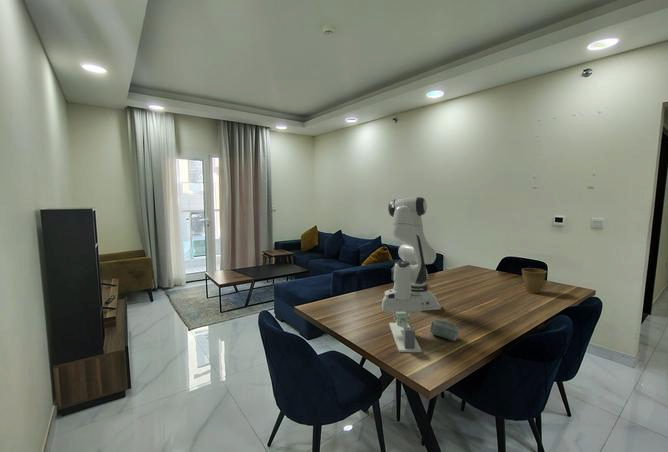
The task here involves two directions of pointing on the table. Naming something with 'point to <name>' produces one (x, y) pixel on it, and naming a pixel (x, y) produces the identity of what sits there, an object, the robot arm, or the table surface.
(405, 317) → the sleeve
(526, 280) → the plant pot
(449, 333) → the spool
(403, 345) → the stand
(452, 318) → the table surface
